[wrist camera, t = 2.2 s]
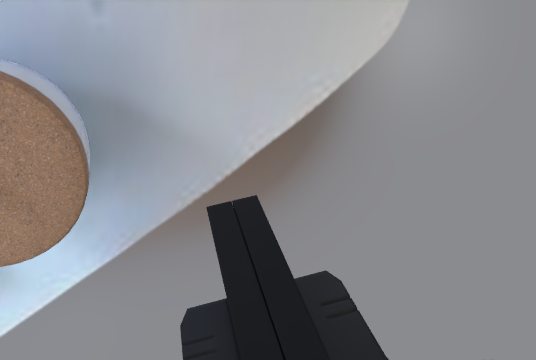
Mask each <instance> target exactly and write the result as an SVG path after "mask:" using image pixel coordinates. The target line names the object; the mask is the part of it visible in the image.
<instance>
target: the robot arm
mask: <svg viewBox="0 0 536 360" xmlns="http://www.w3.org/2000/svg"><path fill="white" fill-rule="evenodd" d="M232 202H233V205H232ZM232 202H231V201H230V202H225V203H221V204H217V205H213V206H209V207H207V212H208V216H209V221H210V225H211V229H212V234H213V238H214V243H215V247H216V252H217V256H218V260H219V265H220V269H221V274H222V278H223V283H224V287H225V292H226V296H227V298H226V299H222V300H219V301H215V302H211V303H207V304H204V305H200V306H196V307H192V308H189V309H187V311H186V314H185V316H184V318H183V321H182V323H181V340H182V353H183V360H388V358H387V357H386V356H385V354H384V352H383V351H382V349H381V347H380V346H379V344H378V342H377V341H376V339H375V337H374V336H373V334H372V332H371V330H370V329H369V327H368V326H367V324H366V322H365V321H364V319H363V317H362V315H361V314H360V312H359V311H358V310H357V307H356V305H355V304H354V302H353V300H352V299H351V298H350V295H349V294H348V292H347V290H346V288H345V287H344V285H343V283H342V282H341V281H340V280H339V279H338V278H336V277H334V276H333V275H332V274H330V273H329V272H327V271H322V272H318V273H315V274H311V275H307V276H303V277H299V278H296V279H294V278H293V275H292V273H291V271H290V269H289V266H288V264H287V262H286V260H285V258H284V255H283V253H282V251H281V249H280V246H279V244H278V242H277V240H276V238H275V235H274V233H273V231H272V229H271V226H270V224H269V222H268V220H267V217H266V215H265V213H264V211H263V209H262V206H261V204H260V202H259V200H258V197H257V196H256V195H255V196H251V197H247V198H242V199H238V200H234V201H232ZM233 207H234V208H233Z"/></svg>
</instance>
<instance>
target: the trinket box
mask: <svg viewBox="0 0 536 360" xmlns="http://www.w3.org/2000/svg"><path fill="white" fill-rule="evenodd" d="M90 160H91V157H90V146H89V139H88V136H87V132H86V129H85V126H84V123H83V121H82V119H81V117H80V115H79V113H78V111H77V109H76V108H75V106H74V105H73V104H72V102H71V101H70V99H69V98H68V97H67V96H66V95H65V94H64V93H63V92H62V91H61V90H60V88H58V87H57V86H56V85H55V84H53V83H52V82H51V81H50V80H48V79H47V78H46V77H44V76H42V75H41V74H39V73H37V72H36V71H34V70H32V69H30V68H27V67H25V66H23V65H21V64H18V63H15V62H11V61H8V60H4V59H0V267H3V266H8V265H12V264H17V263H20V262H23V261H26V260H29V259H32V258H34V257H36V256H38V255H40V254H42V253H44V252H46V251H47V250H49V249H50V248H52V247H53V246H54V245H56V244H57V243H58V242H60V241H61V240H62V239H63V238H64V237H65V236H66V235H67V234H68V233H69V232H70V230H71V229H72V227H73V226H74V224H75V223H76V222H77V220H78V218H79V216H80V214H81V212H82V209H83V207H84V204H85V200H86V196H87V192H88V184H89V174H90Z"/></svg>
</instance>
